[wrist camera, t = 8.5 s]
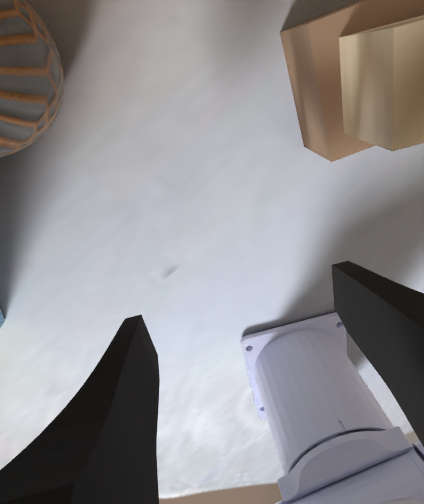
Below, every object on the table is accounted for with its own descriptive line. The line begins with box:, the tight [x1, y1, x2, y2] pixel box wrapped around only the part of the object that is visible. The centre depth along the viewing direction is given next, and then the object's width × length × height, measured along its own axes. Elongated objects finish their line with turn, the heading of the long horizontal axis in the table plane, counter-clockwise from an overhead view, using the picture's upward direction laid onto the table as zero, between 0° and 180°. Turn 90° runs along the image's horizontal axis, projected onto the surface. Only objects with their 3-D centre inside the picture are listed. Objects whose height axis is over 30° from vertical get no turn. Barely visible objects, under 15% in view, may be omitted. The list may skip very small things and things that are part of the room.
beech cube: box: [339, 15, 424, 151], centre depth 14 cm, size 4×4×4 cm
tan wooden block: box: [280, 0, 424, 162], centre depth 18 cm, size 6×6×4 cm
